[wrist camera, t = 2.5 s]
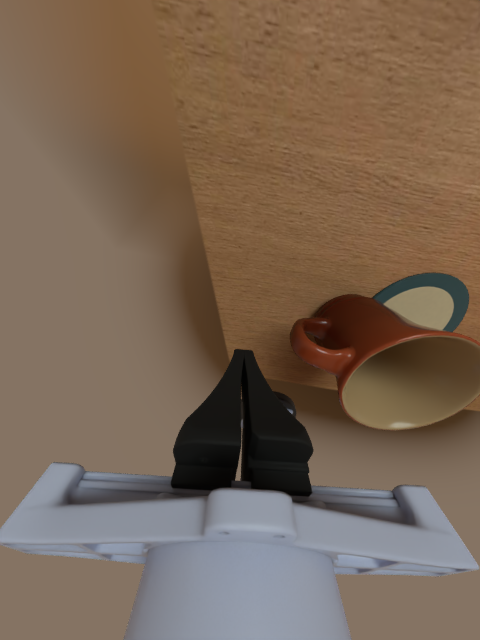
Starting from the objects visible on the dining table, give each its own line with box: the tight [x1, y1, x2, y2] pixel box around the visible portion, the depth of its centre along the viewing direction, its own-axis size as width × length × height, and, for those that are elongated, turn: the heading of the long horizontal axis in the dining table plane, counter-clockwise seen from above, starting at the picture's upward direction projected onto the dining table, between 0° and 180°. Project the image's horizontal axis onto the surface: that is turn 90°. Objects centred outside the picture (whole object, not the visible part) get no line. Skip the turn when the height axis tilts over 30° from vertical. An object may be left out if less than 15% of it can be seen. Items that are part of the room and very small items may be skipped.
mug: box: [290, 294, 480, 430], centre depth 16 cm, size 12×9×10 cm
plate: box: [373, 273, 469, 332], centre depth 21 cm, size 12×12×1 cm
